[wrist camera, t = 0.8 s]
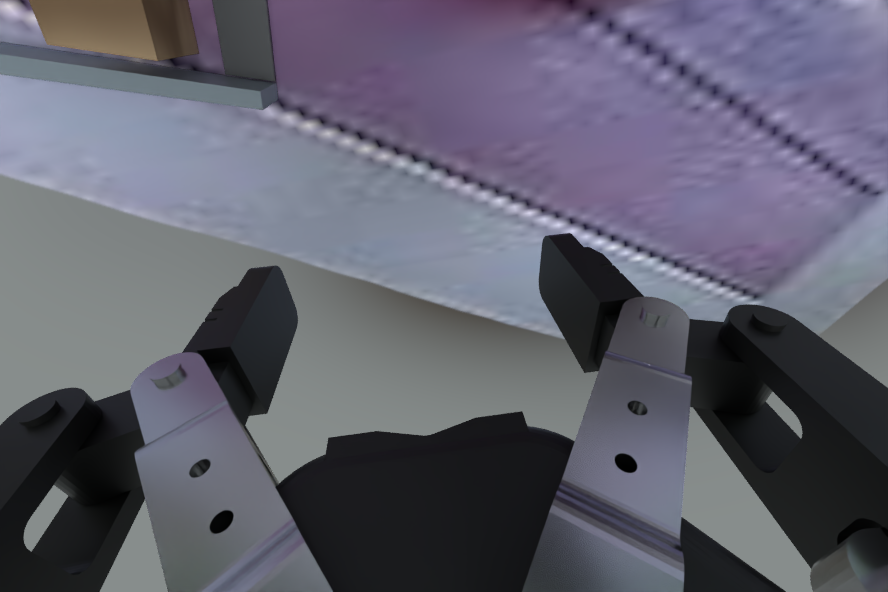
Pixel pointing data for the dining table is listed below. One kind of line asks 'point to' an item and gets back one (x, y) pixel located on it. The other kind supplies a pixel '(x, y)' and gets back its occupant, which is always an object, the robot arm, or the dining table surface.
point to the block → (119, 26)
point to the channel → (242, 53)
